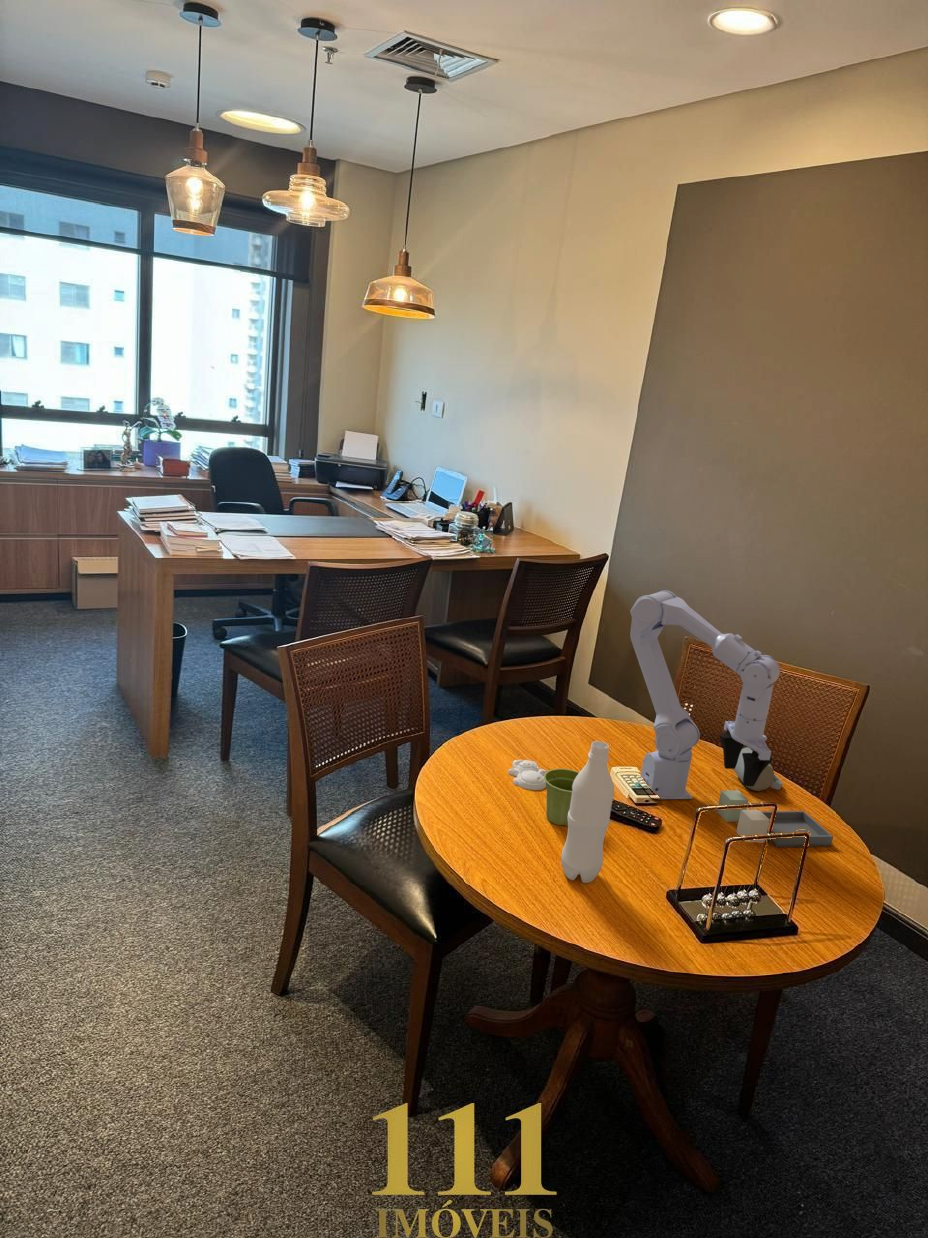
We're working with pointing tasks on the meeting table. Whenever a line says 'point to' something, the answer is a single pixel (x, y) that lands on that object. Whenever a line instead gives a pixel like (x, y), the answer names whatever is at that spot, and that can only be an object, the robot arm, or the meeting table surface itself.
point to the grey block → (752, 823)
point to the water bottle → (589, 816)
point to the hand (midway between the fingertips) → (738, 776)
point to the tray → (793, 822)
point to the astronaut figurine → (528, 775)
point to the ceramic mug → (763, 780)
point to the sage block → (731, 799)
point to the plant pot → (559, 794)
